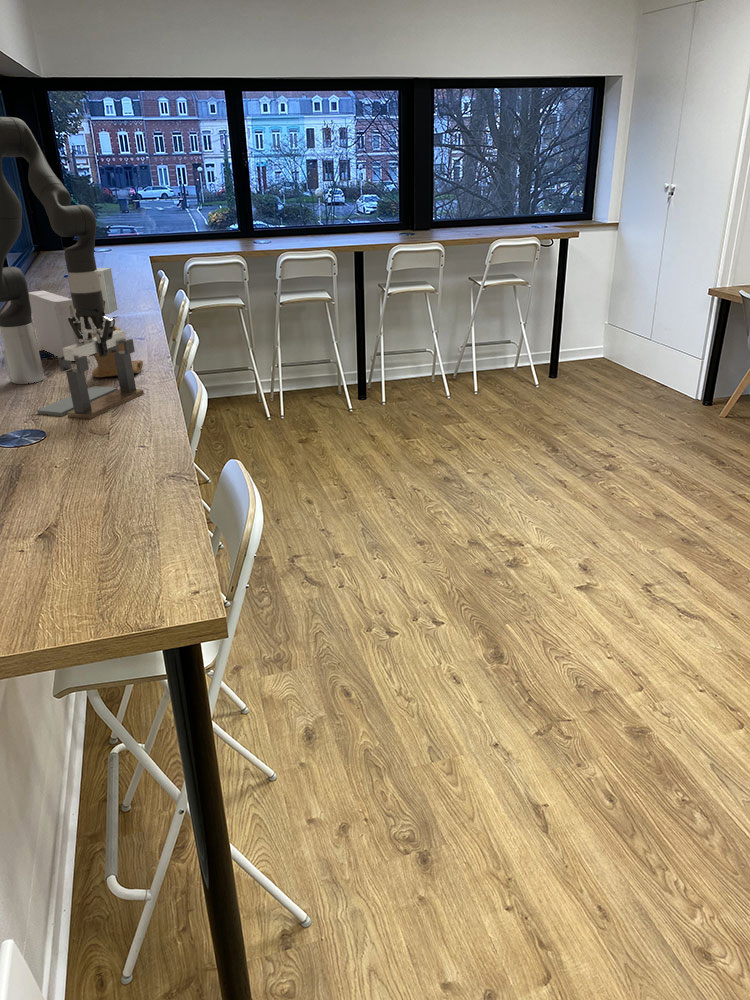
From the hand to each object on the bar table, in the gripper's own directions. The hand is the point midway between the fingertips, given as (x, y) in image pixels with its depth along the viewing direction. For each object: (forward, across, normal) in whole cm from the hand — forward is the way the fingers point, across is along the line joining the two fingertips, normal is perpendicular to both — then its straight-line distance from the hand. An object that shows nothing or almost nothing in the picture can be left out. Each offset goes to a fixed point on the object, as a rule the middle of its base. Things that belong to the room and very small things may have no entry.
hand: (97, 355), depth 199 cm
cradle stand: (+14, 0, 0) cm, 14 cm away
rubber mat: (+14, +9, 0) cm, 17 cm away
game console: (+15, +53, -43) cm, 70 cm away
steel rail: (-1, 0, 0) cm, 1 cm away
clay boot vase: (+14, +16, -26) cm, 34 cm away
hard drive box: (+15, +84, -100) cm, 131 cm away
